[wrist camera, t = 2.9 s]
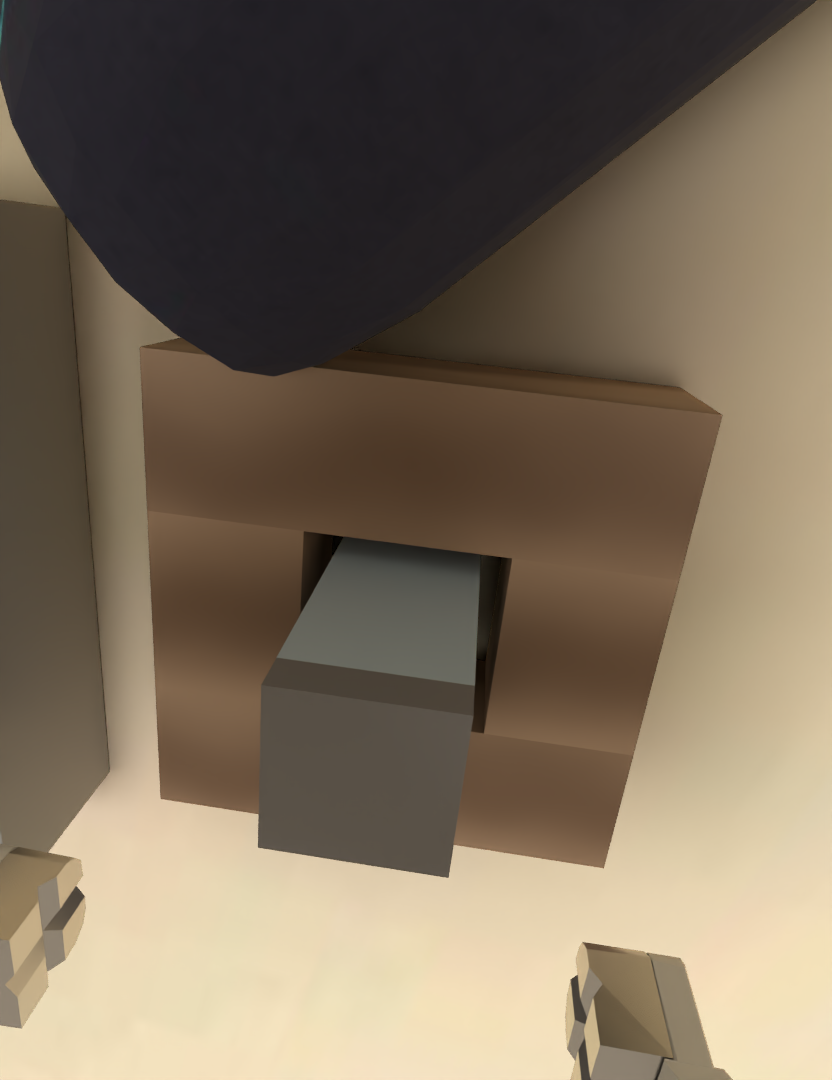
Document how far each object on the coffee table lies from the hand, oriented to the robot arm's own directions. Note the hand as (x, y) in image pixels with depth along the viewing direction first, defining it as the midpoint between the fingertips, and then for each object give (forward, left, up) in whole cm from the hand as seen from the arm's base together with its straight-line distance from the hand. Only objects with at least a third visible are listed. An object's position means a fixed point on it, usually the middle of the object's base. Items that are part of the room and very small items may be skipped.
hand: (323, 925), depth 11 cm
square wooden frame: (0, 0, -13) cm, 13 cm away
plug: (0, 0, -13) cm, 13 cm away
